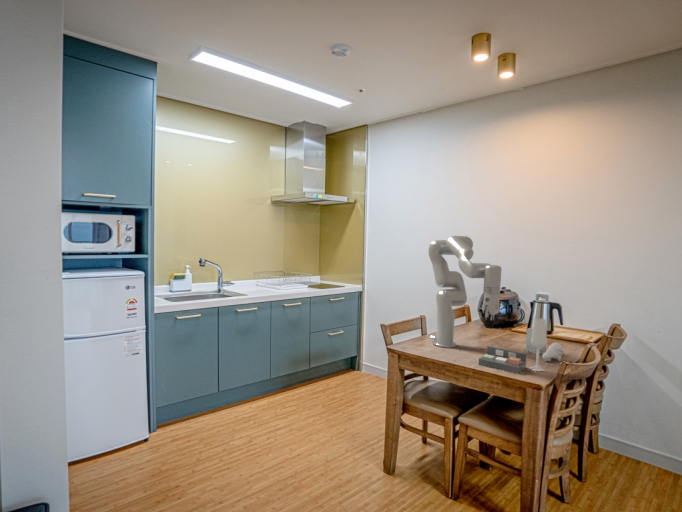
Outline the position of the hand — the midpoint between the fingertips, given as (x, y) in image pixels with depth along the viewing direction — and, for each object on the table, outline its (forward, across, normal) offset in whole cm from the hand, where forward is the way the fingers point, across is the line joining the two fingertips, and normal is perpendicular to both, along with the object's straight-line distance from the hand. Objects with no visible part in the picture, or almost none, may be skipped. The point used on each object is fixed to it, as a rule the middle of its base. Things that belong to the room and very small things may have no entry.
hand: (489, 327), depth 195 cm
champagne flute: (+17, +8, -21) cm, 28 cm away
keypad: (+17, 0, -7) cm, 19 cm away
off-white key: (+16, -1, -7) cm, 17 cm away
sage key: (+16, -1, -1) cm, 16 cm away
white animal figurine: (+18, +30, -22) cm, 41 cm away
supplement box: (+18, +40, -12) cm, 46 cm away
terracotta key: (+14, -1, -13) cm, 20 cm away
